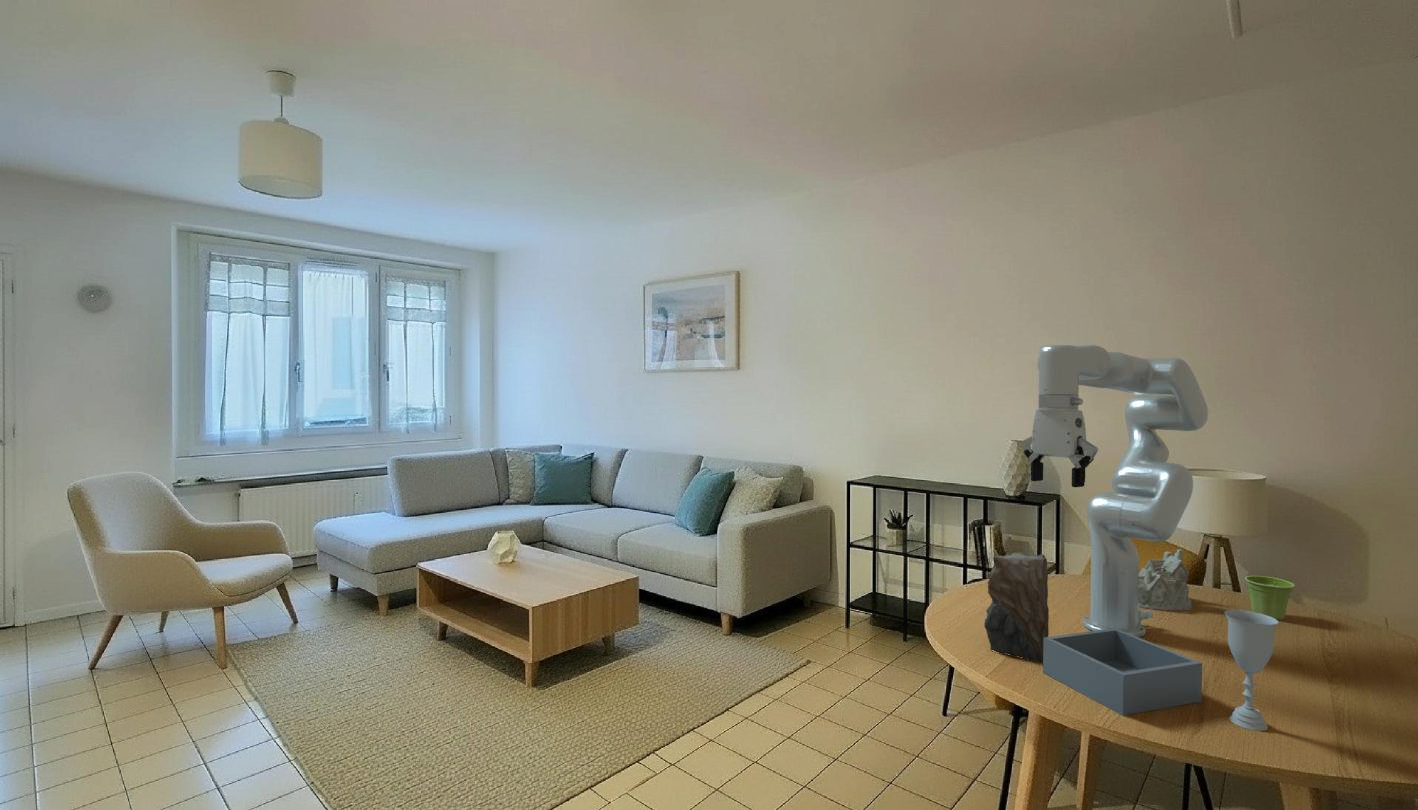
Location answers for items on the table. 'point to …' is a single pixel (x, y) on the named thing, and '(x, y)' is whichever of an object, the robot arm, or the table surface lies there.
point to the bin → (1122, 670)
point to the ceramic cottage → (1164, 584)
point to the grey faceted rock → (1018, 605)
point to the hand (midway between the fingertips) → (1056, 483)
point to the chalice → (1250, 658)
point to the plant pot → (1269, 595)
